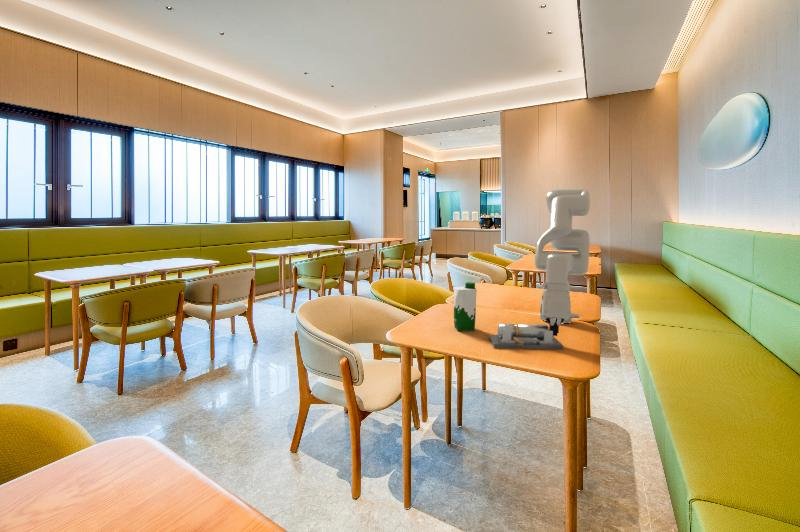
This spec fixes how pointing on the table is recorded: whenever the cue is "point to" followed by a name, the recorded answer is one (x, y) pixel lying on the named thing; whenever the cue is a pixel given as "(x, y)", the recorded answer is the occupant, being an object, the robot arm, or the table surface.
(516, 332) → the banded metal cylinder
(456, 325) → the milk carton
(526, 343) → the cylinder mounting fixture
